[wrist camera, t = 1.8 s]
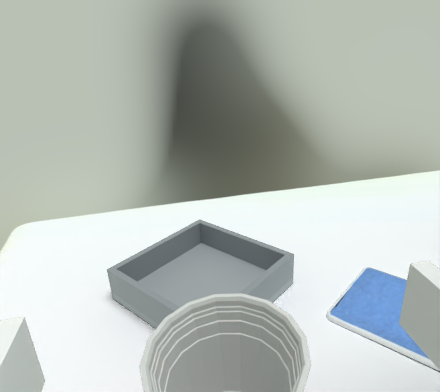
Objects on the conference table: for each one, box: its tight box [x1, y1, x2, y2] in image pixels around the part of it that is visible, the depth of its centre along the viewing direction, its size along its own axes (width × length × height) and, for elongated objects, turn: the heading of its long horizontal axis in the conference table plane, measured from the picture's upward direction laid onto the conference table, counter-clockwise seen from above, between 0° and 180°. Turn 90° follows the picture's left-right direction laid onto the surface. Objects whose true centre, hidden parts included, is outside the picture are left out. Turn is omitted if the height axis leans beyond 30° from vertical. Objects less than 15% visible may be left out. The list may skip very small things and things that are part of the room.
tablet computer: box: [326, 268, 440, 371], centre depth 40 cm, size 19×13×1 cm, turn 49°
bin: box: [107, 220, 294, 328], centre depth 46 cm, size 17×17×4 cm
